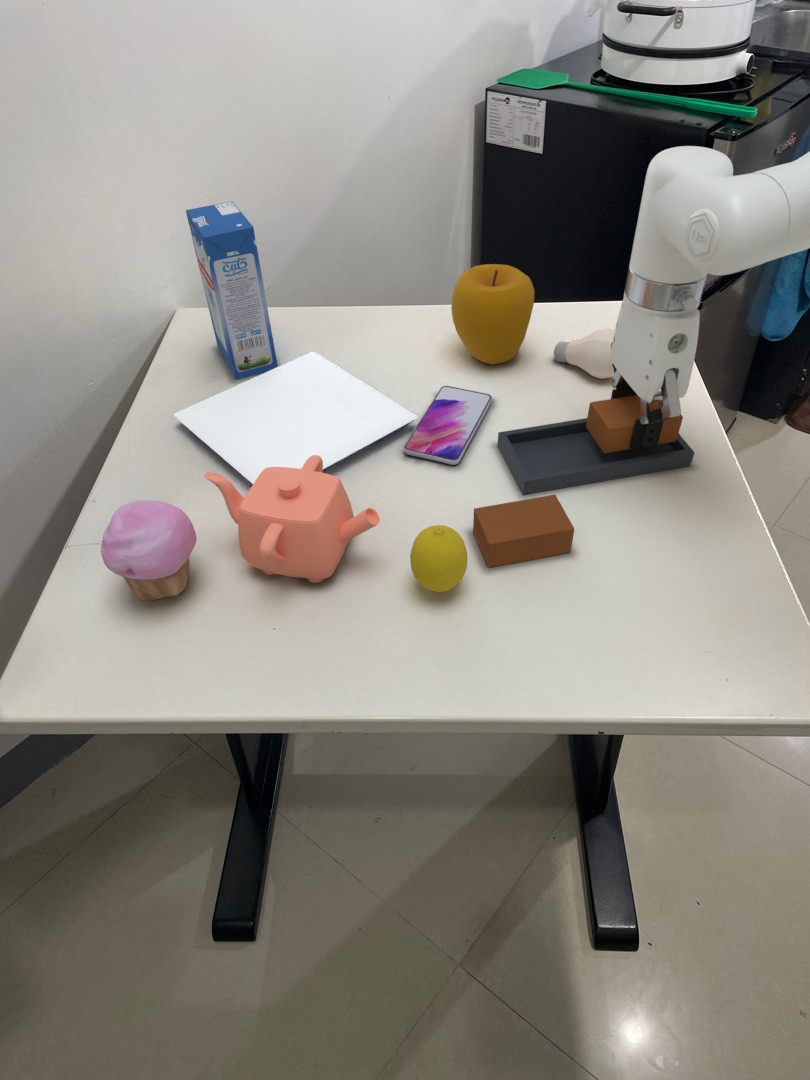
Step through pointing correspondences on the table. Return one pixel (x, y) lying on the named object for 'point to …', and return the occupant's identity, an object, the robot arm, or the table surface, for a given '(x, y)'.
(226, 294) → the milk carton
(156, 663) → the table surface
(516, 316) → the apple
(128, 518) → the cupcake
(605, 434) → the brown rectangular block
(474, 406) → the smartphone
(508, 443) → the frame
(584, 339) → the light bulb
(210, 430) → the plate
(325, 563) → the teapot
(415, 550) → the lemon
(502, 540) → the brown brick
